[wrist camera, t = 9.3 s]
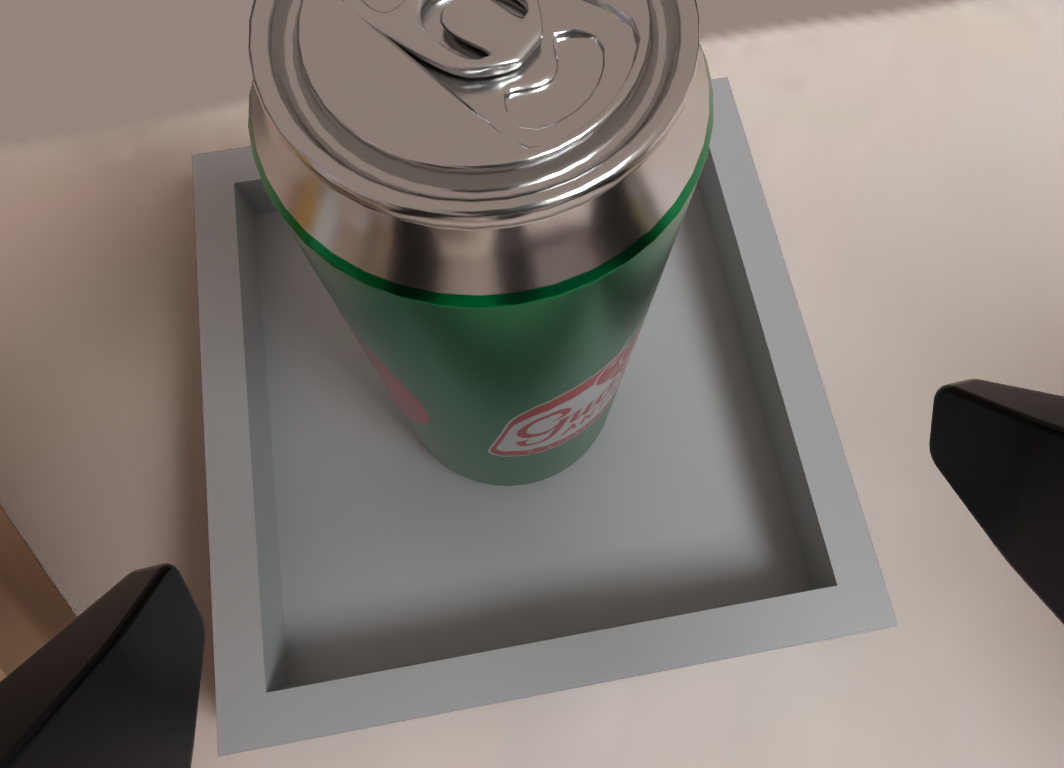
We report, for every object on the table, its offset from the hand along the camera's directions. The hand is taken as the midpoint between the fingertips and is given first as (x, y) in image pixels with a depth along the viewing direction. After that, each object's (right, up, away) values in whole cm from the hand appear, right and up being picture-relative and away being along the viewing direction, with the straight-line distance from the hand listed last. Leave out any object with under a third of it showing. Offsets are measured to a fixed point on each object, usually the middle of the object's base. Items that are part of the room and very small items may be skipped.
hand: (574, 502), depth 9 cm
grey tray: (-1, +1, +10) cm, 11 cm away
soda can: (-1, +1, +10) cm, 10 cm away
